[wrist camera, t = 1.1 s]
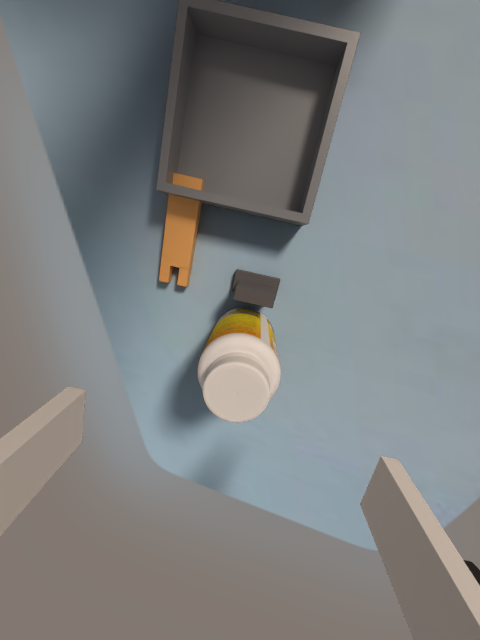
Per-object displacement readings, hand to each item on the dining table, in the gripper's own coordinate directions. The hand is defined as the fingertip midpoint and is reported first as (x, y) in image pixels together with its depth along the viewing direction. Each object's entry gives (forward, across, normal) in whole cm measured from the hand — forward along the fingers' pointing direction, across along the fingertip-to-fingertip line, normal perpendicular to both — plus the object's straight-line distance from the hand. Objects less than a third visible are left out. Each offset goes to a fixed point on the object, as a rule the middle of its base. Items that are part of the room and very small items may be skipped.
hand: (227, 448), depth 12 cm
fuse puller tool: (+15, -7, +9) cm, 19 cm away
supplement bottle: (+14, 0, 0) cm, 15 cm away
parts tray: (+14, -3, +16) cm, 22 cm away
